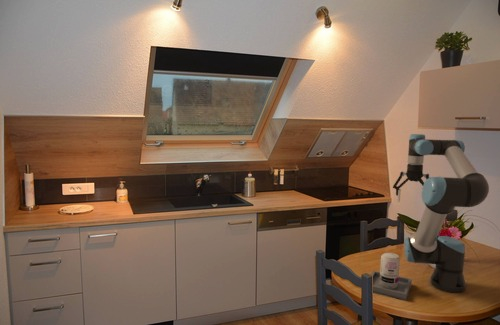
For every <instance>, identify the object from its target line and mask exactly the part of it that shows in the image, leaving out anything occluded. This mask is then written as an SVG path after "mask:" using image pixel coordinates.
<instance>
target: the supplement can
mask: <svg viewBox="0 0 500 325" xmlns="http://www.w3.org/2000/svg"><path fill="white" fill-rule="evenodd" d="M400 261H401V259H400V257H399V255H398V254H397V253H393V252H383V253H382V255H381V256H380V266H379V267H380V268H379V272H380V281H379V283H380V285H381V286H382V287H384V288H387V289H395V288H396V287H398V276H399V273H400Z"/></svg>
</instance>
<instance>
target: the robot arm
mask: <svg viewBox="0 0 500 325" xmlns="http://www.w3.org/2000/svg"><path fill="white" fill-rule="evenodd" d="M465 147H466V146H465V143H464V141H462V140H456V139H428V138H427V139H426V135H425V134H420V133H411V134H410V135H409V139H408V154H407V155H408V156H407V163H408V164H407V166H406V168H407V169H406V171H405V172H404V171H401V172H399V176H398V178H397V179H396V181H395V183H394V184H393V185H392V188H393V189H395V195H396V196H397V203H400V201H401V191H402V190H401V188H402V187H403V186H404V185H405V184H406V183H407V182H408V181H410V182H416V183H417V182H419V184H421V186H422V188H421V189H422V191H421V200H422V203H423V204H424V206H425V208H424V211H423V214H422V215H421V219H420V221H419V224H418V226H417V229H416V231H415V232H413V233H412V234H411V236H410V237H408V236H407V237H404V241H403V248H404V255H405V256H404V257H405V259H406V261H407V262H409V263H414V264H424V265H425V264H429V265H435V267H434V269H433V271H432V274H431V276H430V279H429V282H430V284H431V286H433V287H434V288H436V289H438V290H440V291H444V292H448V293H463V292H465V291H466V287H467V284H466V279H465V277H464V266H465V264H464V263H465V258H466V256H465V254H466V244H465V243H464V242H463V241H462V240H460V239H457V238H454V237H451V236H447V235H446V236H440V232H441V227H442V225H443V223H444V220H445V218H446V216H447V214H450V213H451V212H453V210H455V208H456V207H457V208H458V207H459V208H473V207H477V206H478V205H481V204H482V203H483V202H484V201H485V200H486V199H487V197H488V194H489V191H490V185H489V182H488V180H487V179H486V177H485V176H484V175H483V174H481V173H479V172H478V170H476V168H475V167H474V165H473V163H471V161H470V160H469V158H468V157H467V155H466V154H465V149H466V148H465ZM425 156H445V158H446V160H447V161H448V164H449V165H450V166H451V167H450V168H452V170H453V172H454V173H455V175H456V177H447V176H446V177H445V176H430V174H429V173H424V172H423V171H424V165H423V164H424V160H425V159H424V158H425ZM404 176H406V178H405V179H404V180H403V181H402V182H401V183H400V181H401V180H402V178H403V177H404ZM423 177H424V179H425V181H424V180H423V179H422V178H423ZM399 183H400V184H399ZM398 184H399V185H398Z"/></svg>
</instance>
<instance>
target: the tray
mask: <svg viewBox="0 0 500 325" xmlns="http://www.w3.org/2000/svg"><path fill="white" fill-rule="evenodd" d="M370 275H372V276H373V294H376V295H381V296H383V297H384V296H385V297H389V298H393V299H396V300H401V301H404V302H406V301H407V300H408V297H409V294H410V291H411V288H412V283H413V282H412V281H413V279H412V278H407V277H404V276H398V287H396V288H395V289H387V288H384V287H382V286H381V285H380V283H379V281H380V271H378V270H372V272H371V274H370Z"/></svg>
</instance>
